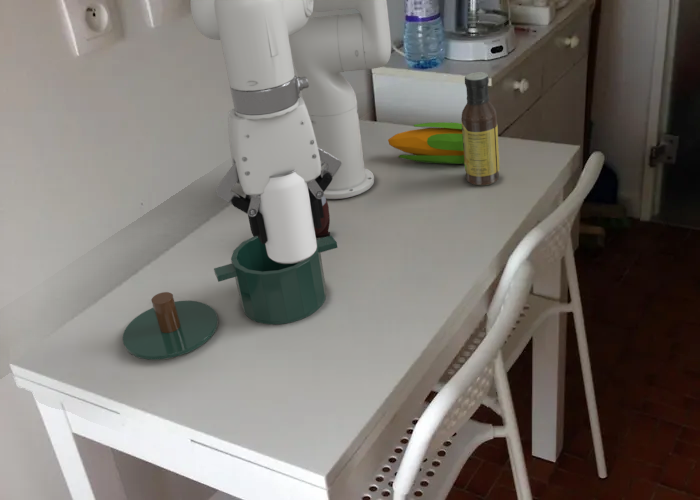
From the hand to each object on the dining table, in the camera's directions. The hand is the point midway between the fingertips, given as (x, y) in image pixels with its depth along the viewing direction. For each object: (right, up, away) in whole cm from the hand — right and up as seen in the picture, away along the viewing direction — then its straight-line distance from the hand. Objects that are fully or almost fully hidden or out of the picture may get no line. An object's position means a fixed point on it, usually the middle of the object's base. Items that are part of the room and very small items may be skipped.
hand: (288, 230), depth 102 cm
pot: (-2, -10, +19) cm, 21 cm away
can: (0, -3, +2) cm, 3 cm away
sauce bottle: (+32, +10, +46) cm, 57 cm away
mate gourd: (+2, -1, +35) cm, 35 cm away
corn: (+25, +15, +56) cm, 63 cm away
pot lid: (-18, -14, +14) cm, 27 cm away
